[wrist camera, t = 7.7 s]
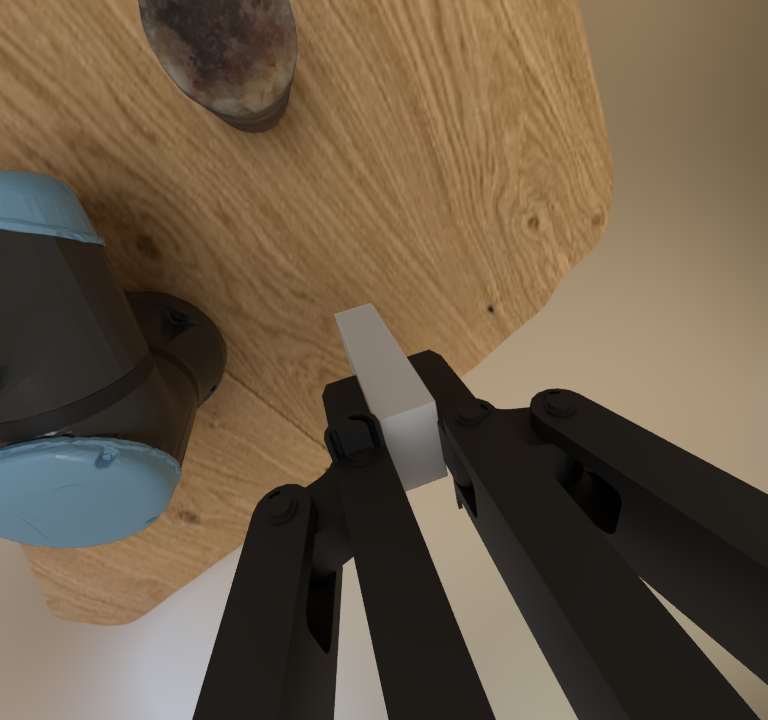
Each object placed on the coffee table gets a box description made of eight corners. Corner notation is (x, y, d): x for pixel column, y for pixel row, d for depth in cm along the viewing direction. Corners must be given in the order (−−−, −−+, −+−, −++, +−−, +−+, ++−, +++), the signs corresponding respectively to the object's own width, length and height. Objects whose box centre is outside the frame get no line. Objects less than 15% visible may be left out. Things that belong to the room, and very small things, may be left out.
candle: (210, 12, 32) (142, -128, 15) (297, 55, 35) (320, -25, 18) (198, 113, 35) (129, 90, 18) (278, 145, 38) (283, 149, 21)
